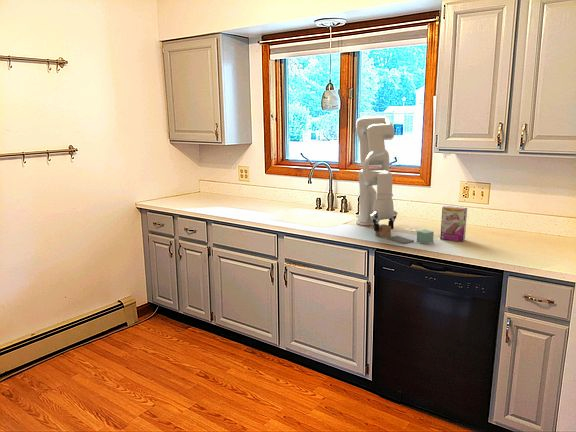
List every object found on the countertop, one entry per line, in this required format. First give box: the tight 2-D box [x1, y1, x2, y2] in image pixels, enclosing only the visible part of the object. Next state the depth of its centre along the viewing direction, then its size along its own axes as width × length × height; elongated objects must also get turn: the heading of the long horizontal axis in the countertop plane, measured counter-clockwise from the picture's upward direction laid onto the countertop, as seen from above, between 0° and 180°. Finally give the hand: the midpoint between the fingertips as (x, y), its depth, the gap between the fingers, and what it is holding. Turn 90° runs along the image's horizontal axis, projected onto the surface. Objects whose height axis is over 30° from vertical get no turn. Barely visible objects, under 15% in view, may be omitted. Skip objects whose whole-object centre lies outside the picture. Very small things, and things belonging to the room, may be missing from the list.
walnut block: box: [374, 223, 392, 239], centre depth 243 cm, size 6×6×6 cm
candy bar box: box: [439, 205, 468, 243], centre depth 234 cm, size 11×5×16 cm, turn 59°
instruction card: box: [403, 227, 418, 232], centre depth 256 cm, size 6×4×1 cm, turn 30°
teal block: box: [416, 229, 434, 245], centre depth 231 cm, size 6×6×6 cm
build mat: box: [386, 235, 415, 245], centre depth 235 cm, size 12×7×1 cm, turn 30°
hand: (383, 230), depth 242 cm, fingers open, 9 cm apart
